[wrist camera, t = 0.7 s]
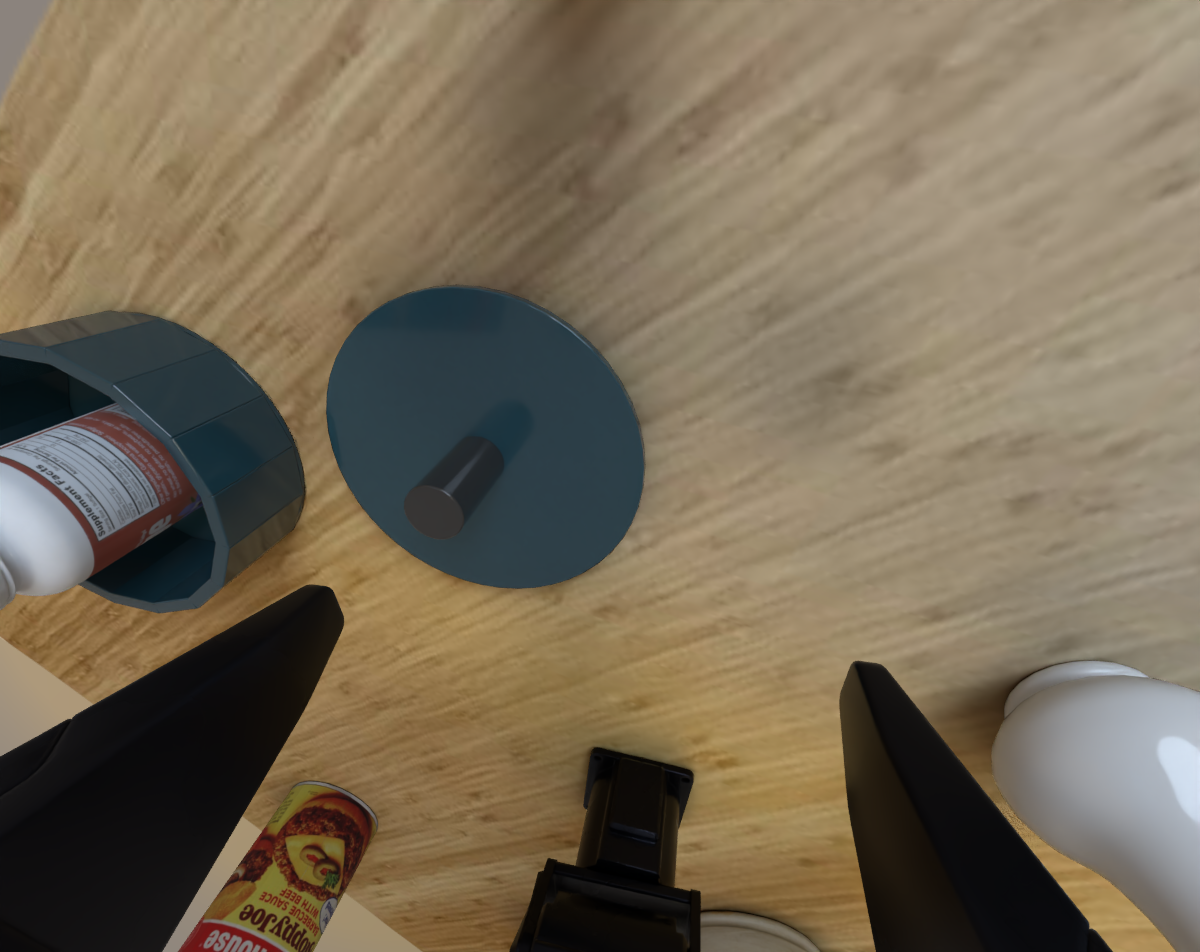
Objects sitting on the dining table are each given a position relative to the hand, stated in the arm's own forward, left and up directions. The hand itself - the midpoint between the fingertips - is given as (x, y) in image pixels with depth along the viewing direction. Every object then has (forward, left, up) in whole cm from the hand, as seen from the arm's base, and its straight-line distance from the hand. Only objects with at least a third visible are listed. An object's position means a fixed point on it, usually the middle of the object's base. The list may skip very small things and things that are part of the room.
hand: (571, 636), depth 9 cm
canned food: (-42, +21, -15) cm, 49 cm away
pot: (-8, +24, -15) cm, 29 cm away
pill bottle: (-8, +24, -14) cm, 29 cm away
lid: (-5, +7, -14) cm, 16 cm away
